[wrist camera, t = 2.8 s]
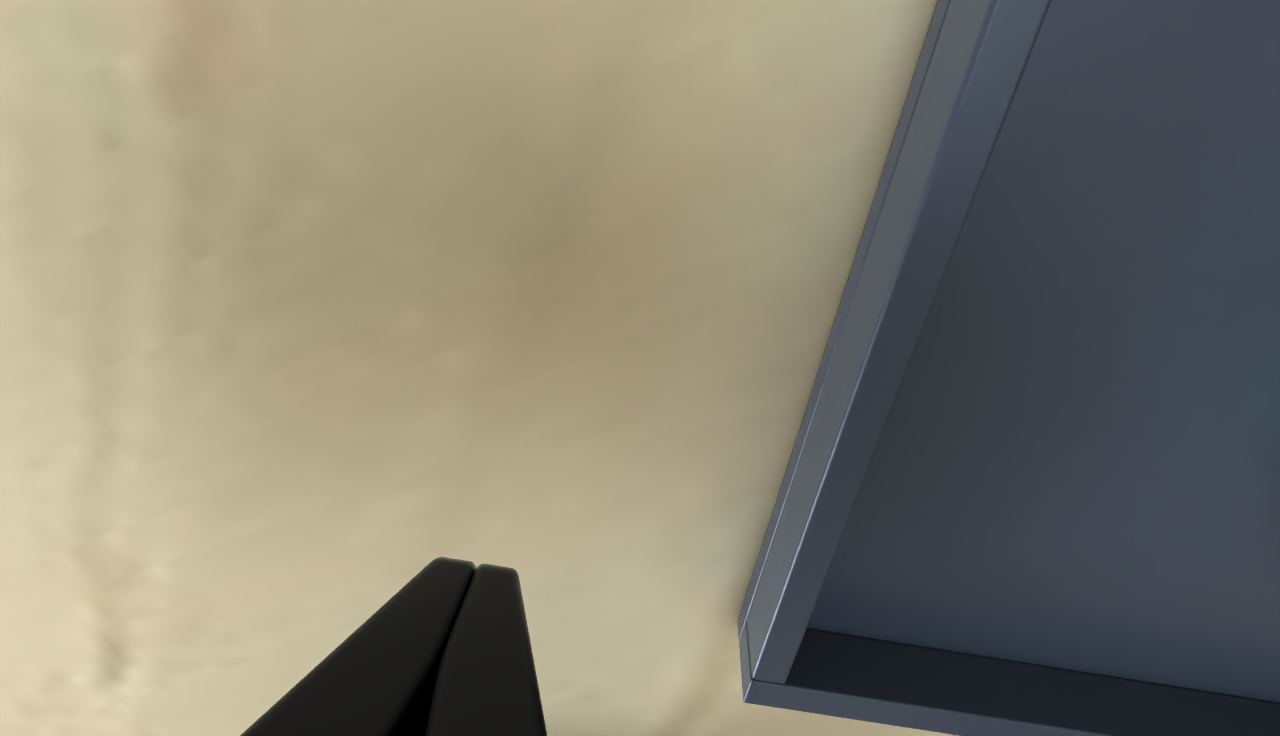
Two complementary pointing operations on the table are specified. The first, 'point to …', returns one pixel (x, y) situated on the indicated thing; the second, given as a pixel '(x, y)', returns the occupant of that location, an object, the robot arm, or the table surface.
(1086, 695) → the tray
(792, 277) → the table surface
